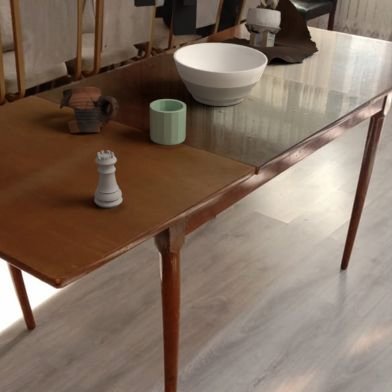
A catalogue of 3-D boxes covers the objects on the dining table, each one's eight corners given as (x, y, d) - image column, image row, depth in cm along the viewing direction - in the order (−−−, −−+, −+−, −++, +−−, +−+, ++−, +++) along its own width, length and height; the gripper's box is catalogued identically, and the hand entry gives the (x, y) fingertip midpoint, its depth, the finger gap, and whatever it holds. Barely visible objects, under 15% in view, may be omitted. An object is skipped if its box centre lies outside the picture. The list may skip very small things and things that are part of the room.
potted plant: (215, 59, 161) (230, -55, 151) (266, 66, 173) (283, -38, 163) (270, 65, 148) (290, -58, 138) (321, 73, 159) (343, -40, 149)
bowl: (217, 75, 145) (219, 37, 139) (282, 99, 135) (287, 59, 129) (154, 94, 134) (153, 54, 129) (219, 122, 124) (222, 79, 119)
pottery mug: (54, 136, 118) (48, 89, 116) (78, 140, 126) (73, 97, 125) (112, 127, 114) (107, 79, 112) (132, 133, 123) (128, 88, 121)
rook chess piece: (104, 193, 101) (100, 145, 95) (128, 199, 99) (126, 151, 94) (88, 204, 98) (84, 155, 92) (113, 211, 96) (110, 162, 91)
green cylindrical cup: (157, 147, 114) (157, 114, 111) (145, 133, 119) (144, 101, 115) (190, 142, 117) (191, 109, 113) (177, 128, 121) (177, 97, 117)
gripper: (251, -205, 57) (233, 45, 71) (155, -209, 74) (156, -7, 88) (174, -208, 55) (172, 51, 69) (93, -212, 71) (104, -3, 85)
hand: (163, 19), depth 78 cm, fingers open, 13 cm apart
